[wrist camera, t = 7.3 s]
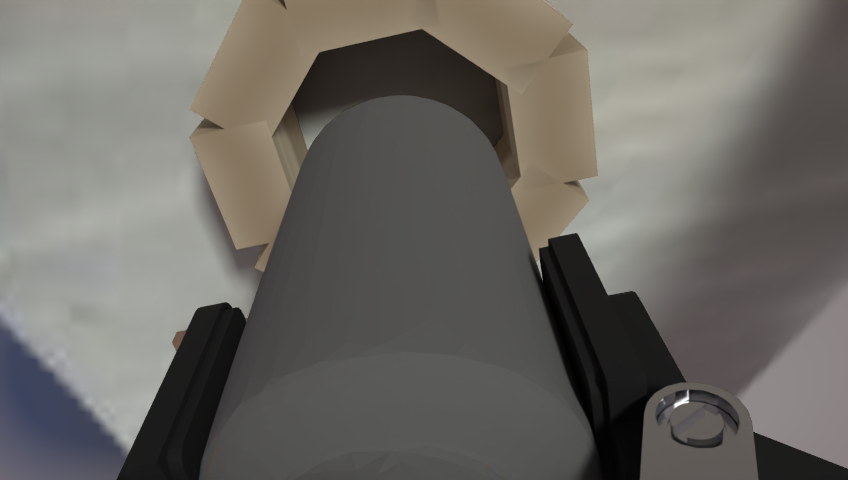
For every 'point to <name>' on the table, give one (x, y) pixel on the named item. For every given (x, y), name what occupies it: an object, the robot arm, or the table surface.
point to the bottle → (401, 321)
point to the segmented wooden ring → (377, 18)
